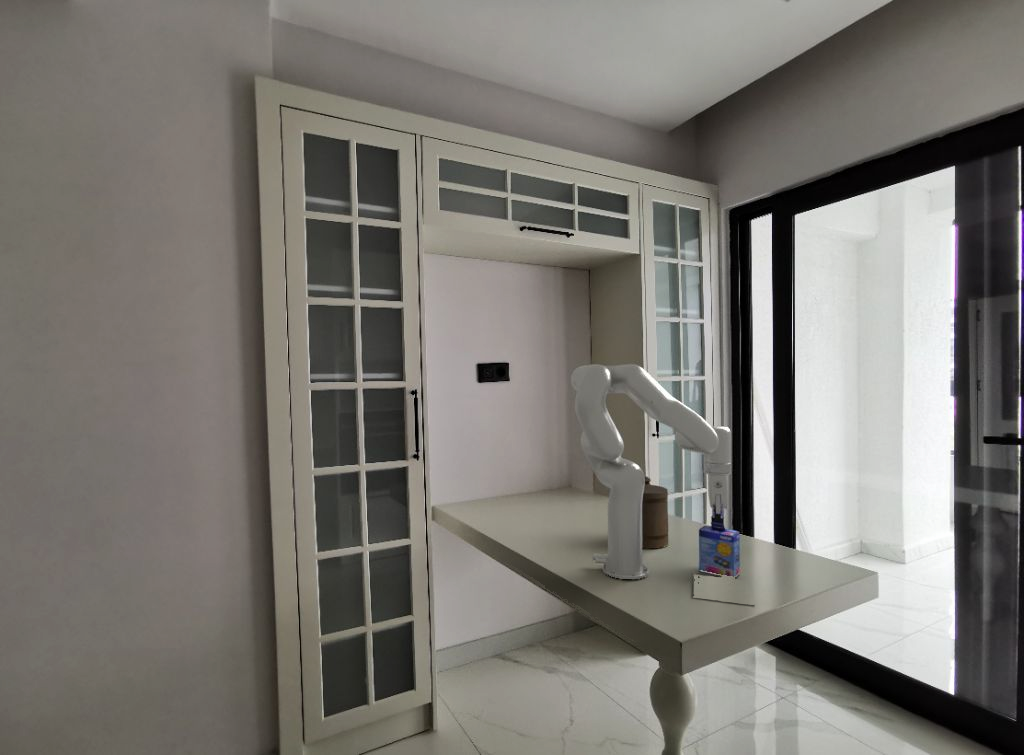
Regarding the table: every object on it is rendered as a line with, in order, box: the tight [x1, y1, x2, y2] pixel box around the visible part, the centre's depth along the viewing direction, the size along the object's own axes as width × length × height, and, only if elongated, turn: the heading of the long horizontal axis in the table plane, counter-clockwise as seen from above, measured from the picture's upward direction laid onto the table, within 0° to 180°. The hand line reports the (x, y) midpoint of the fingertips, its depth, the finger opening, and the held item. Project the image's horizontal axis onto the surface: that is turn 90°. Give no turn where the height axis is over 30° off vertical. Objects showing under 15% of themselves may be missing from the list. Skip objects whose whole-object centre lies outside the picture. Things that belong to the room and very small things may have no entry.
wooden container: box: [642, 475, 669, 549], centre depth 171 cm, size 15×15×22 cm
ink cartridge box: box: [698, 521, 741, 577], centre depth 143 cm, size 10×6×14 cm, turn 51°
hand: (717, 530), depth 150 cm, fingers closed
